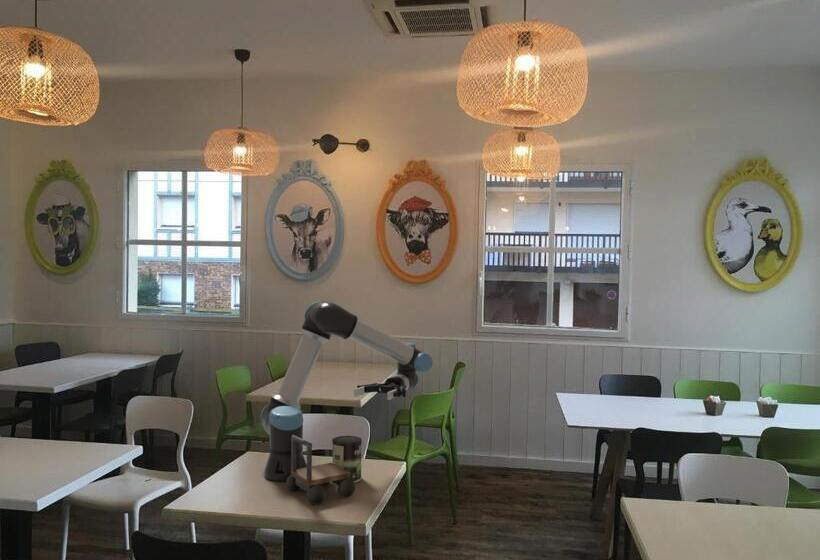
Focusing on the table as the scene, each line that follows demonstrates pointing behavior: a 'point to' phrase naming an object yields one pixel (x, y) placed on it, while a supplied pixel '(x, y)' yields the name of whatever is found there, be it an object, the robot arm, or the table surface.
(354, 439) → the coffee can
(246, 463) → the table surface
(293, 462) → the trolley
